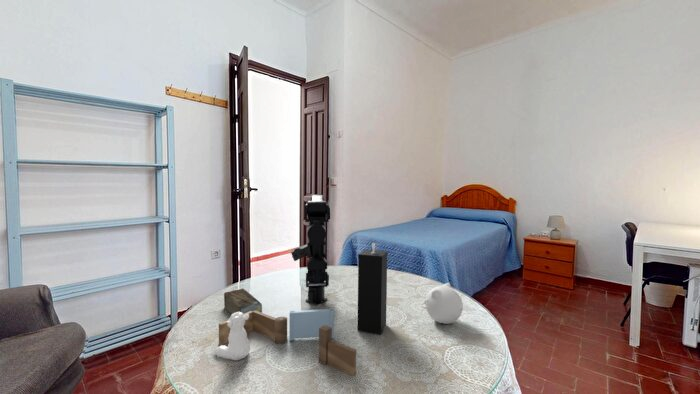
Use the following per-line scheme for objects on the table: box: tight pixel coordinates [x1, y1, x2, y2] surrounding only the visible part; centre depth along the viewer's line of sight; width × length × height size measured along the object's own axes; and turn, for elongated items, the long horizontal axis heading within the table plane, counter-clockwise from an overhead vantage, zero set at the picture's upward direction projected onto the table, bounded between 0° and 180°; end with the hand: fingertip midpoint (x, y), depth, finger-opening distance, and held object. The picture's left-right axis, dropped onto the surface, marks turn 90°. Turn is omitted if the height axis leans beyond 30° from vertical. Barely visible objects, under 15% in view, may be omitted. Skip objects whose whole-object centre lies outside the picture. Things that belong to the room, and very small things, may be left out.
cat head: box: [420, 282, 464, 325], centre depth 103 cm, size 15×13×12 cm
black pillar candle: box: [357, 242, 388, 335], centre depth 98 cm, size 8×8×28 cm
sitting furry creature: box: [214, 312, 251, 361], centre depth 82 cm, size 10×9×12 cm
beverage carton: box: [223, 288, 263, 316], centre depth 109 cm, size 8×19×6 cm, turn 38°
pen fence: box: [218, 310, 357, 376], centre depth 82 cm, size 14×40×9 cm, turn 55°
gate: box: [288, 308, 335, 341], centre depth 91 cm, size 13×2×8 cm, turn 97°
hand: (316, 283), depth 103 cm, fingers closed
